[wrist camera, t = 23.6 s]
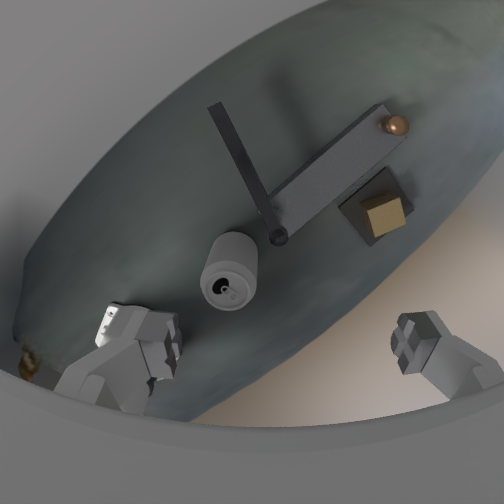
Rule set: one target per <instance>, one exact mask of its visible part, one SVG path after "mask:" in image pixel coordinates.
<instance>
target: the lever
mask: <svg viewBox="0 0 504 504" xmlns="http://www.w3.org/2000/svg"><path fill="white" fill-rule="evenodd" d="M207 109H208V111H209V113H210V115H211V117H212V118H213V120H214V122H215V124H216V126H217V128H218V130H219V132H220V134H221V136H222V138H223V140H224V142H225V144H226V146H227V148H228V150H229V152H230V154H231V156H232V158H233V160H234V162H235V163H236V165H237V167H238V169H239V171H240V173H241V175H242V177H243V179H244V181H245V183H246V185H247V188H248V190H249V192H250V194H251V196H252V198H253V200H254V202H255V204H256V206H257V208H258V210H259V212H260V214H261V216H262V218H263V220H264V222H265V224H266V226H267V228H268V230H269V239H270V242H271V243H272V244H273V245H275V246H282V245H284V244H286V243H287V241H288V232H287V229H286V228H285V227H284V226H281V223H280V221H279V219H278V217H277V215H276V213H275V210H274V208H273V206H272V204H271V202H270V200H269V198H268V196H267V193H266V191H265V189H264V187H263V185H262V183H261V181H260V179H259V177H258V175H257V173H256V171H255V168H254V166H253V164H252V162H251V160H250V158H249V156H248V154H247V152H246V150H245V148H244V146H243V144H242V142H241V140H240V138H239V136H238V134H237V132H236V130H235V128H234V126H233V124H232V122H231V120H230V118H229V116H228V114H227V113H226V111H225V109H224V107H223V105H222V103H221V102H219V103H216V104H214V105H213V106H211V107H209V108H207Z"/></svg>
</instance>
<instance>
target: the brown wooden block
mask: <svg viewBox="0 0 504 504" xmlns="http://www.w3.org/2000/svg"><path fill="white" fill-rule="evenodd" d="M359 204H360V207H361V210H362V214H363V217H364V220H365V223H366V226H367V228H368V229H369V231H370V232H371V233H372V234H373V236H374V237H378V236H380V235H382V234H385V233H387V232H389V231H392V230H394V229H396V228H399V227H401V226H403V225H406V221H405V217H404V213H403V209H402V204H401V201H400V197H398V196H397V195H395V194H394V193H393V192H391V191H390V190H388V191H386V192H383V193H381V194H379V195H376V196H374V197H371V198H369V199H366V200H364V201H361V202H359Z"/></svg>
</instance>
